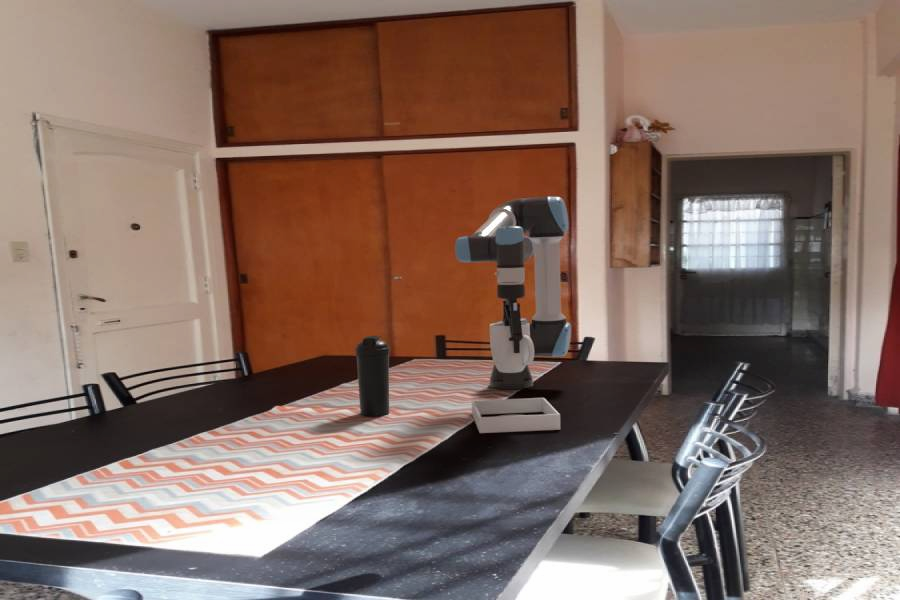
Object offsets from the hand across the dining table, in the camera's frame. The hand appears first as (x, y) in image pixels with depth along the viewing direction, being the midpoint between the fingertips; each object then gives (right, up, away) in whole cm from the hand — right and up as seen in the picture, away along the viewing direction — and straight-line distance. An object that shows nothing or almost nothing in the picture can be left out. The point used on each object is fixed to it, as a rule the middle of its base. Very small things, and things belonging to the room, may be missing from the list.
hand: (512, 361), depth 188 cm
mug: (0, -3, 0) cm, 3 cm away
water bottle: (-39, -17, +16) cm, 46 cm away
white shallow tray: (+1, -17, +1) cm, 17 cm away
